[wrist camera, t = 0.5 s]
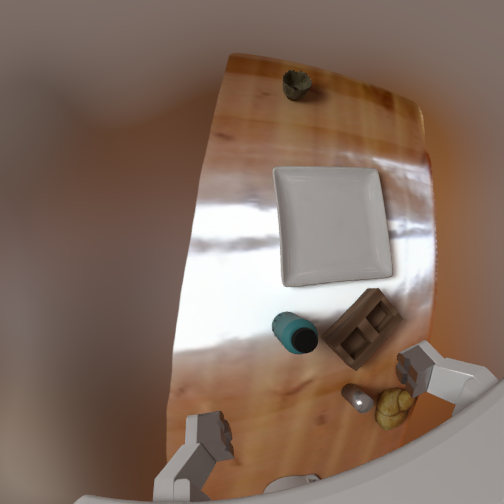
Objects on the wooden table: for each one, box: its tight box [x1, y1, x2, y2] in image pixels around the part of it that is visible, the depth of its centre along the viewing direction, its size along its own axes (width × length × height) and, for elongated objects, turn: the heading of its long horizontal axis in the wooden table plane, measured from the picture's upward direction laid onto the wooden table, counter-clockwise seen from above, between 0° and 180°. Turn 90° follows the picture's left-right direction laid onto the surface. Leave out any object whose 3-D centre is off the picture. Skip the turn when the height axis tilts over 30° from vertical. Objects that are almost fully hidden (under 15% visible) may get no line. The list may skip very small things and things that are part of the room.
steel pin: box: [341, 383, 373, 413], centre depth 55 cm, size 4×4×10 cm
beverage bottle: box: [272, 312, 318, 354], centre depth 51 cm, size 6×7×20 cm
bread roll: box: [375, 388, 417, 430], centre depth 56 cm, size 13×10×8 cm
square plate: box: [273, 166, 393, 287], centre depth 63 cm, size 27×27×4 cm
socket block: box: [321, 288, 403, 371], centre depth 59 cm, size 10×16×6 cm, turn 133°
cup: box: [283, 70, 312, 101], centre depth 65 cm, size 8×7×8 cm
